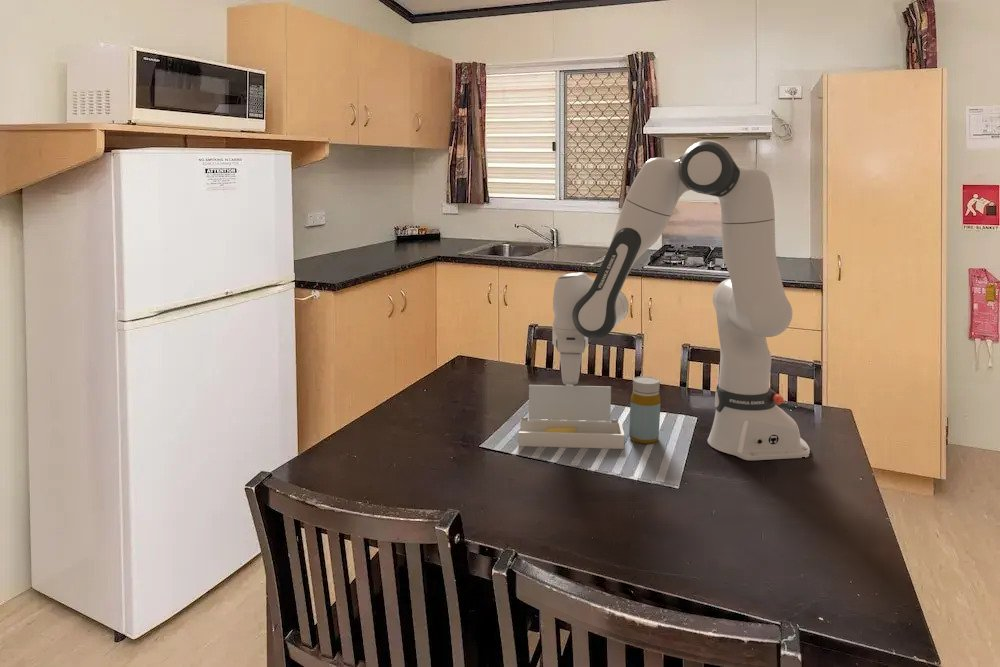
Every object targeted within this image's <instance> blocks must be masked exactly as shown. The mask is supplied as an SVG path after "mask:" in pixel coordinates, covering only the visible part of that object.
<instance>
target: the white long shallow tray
mask: <svg viewBox="0 0 1000 667" xmlns="http://www.w3.org/2000/svg"><path fill="white" fill-rule="evenodd" d="M519 424H520V431H518V447H540V448H543V447H544V448H546V447H547V448H577V449H580V448H581V449H583V448H585V449H618V450H620V449H621V450H625V432H624V427H623V423H622V421H619V419H616V418H615V419H611V418H610V421H590V420H548V419H529V416H528V417H527V416H523V417H521V419H520V423H519ZM565 427H575V429H576V433H560V432H545V429H547V428H565Z"/></svg>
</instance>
